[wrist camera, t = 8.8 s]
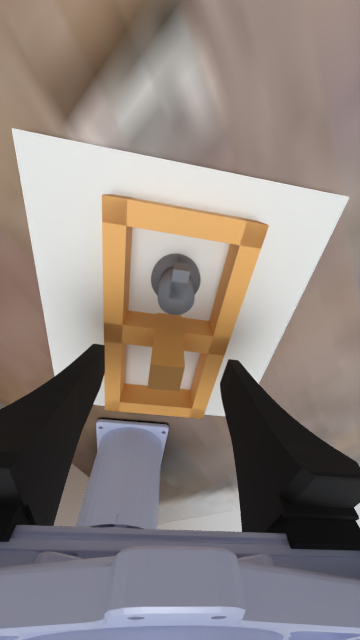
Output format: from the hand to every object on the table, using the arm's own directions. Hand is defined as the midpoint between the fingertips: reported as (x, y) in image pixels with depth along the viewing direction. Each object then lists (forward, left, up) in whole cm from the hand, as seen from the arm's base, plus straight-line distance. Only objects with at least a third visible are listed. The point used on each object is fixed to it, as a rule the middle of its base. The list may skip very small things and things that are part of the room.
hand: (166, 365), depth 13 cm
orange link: (0, 0, -4) cm, 4 cm away
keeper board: (0, 0, -6) cm, 6 cm away
